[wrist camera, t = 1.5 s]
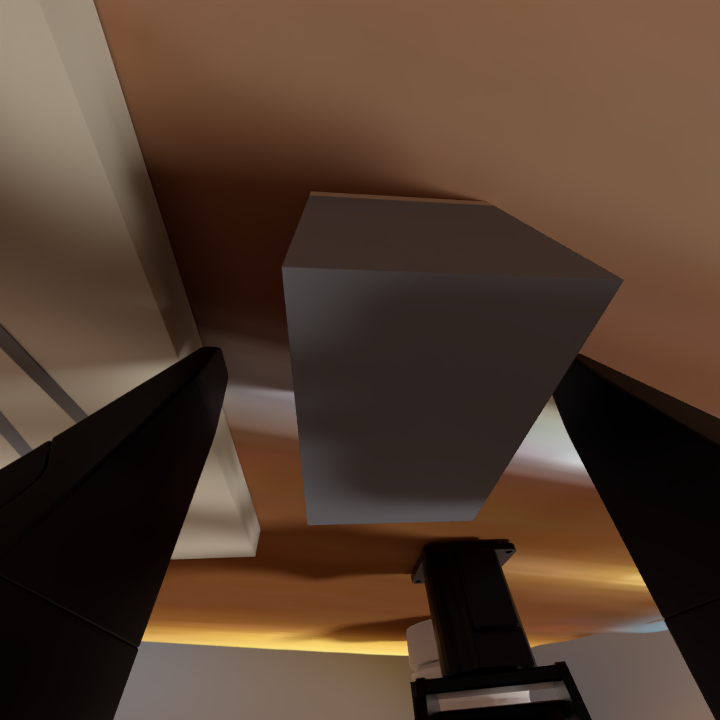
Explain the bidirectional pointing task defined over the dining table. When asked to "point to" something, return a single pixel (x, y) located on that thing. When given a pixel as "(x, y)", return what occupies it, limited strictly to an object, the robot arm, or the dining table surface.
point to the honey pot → (429, 667)
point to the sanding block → (424, 349)
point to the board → (89, 259)
